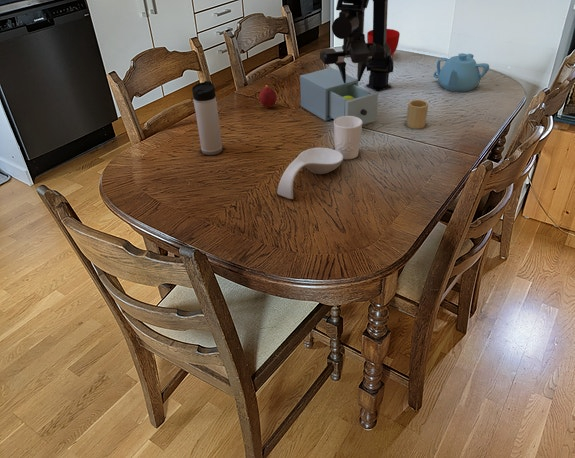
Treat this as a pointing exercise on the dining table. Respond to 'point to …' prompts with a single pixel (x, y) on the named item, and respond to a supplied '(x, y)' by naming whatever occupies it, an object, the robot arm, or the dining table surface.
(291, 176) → the spoon rest
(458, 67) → the teapot
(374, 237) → the dining table surface
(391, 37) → the ceramic cup
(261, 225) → the dining table surface
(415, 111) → the stand
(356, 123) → the white cup
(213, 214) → the dining table surface
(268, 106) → the onion
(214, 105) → the travel mug
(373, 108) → the drawer
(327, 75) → the cabinet
